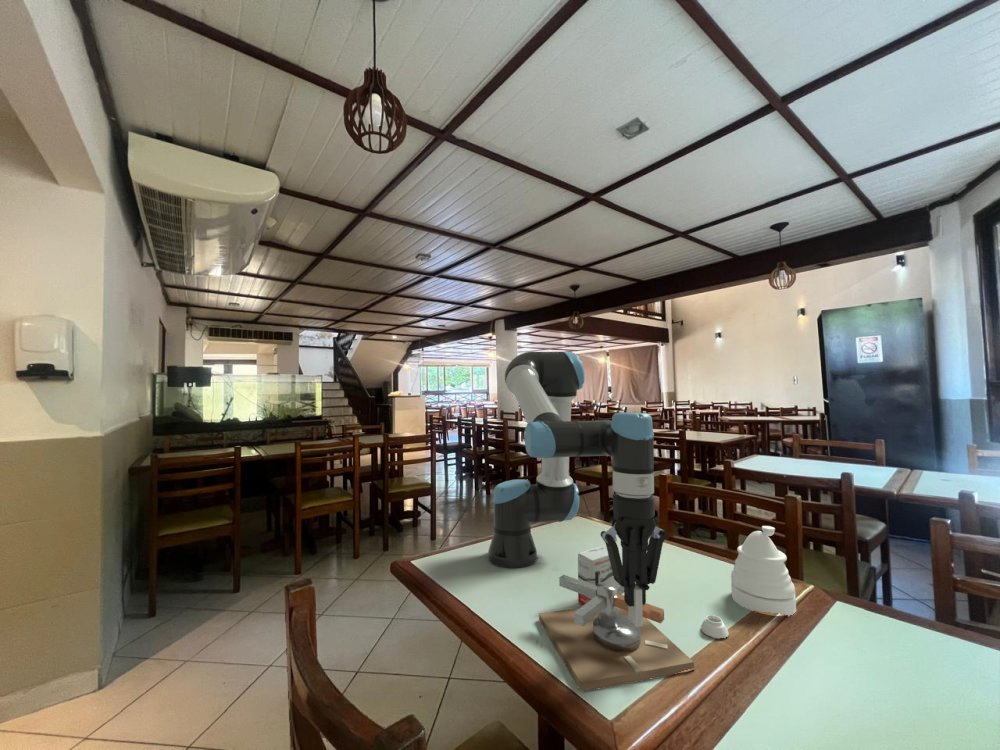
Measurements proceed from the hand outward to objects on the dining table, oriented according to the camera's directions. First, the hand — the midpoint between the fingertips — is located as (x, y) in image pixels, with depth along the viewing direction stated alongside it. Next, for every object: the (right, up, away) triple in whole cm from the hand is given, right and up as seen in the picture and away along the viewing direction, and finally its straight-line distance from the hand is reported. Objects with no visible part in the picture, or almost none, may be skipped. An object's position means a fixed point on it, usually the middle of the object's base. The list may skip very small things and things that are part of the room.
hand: (635, 622), depth 72 cm
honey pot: (+38, -9, +21) cm, 44 cm away
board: (-3, -8, +6) cm, 10 cm away
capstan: (-3, -6, +6) cm, 9 cm away
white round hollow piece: (+20, -8, +9) cm, 23 cm away
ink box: (-2, -9, +22) cm, 24 cm away
